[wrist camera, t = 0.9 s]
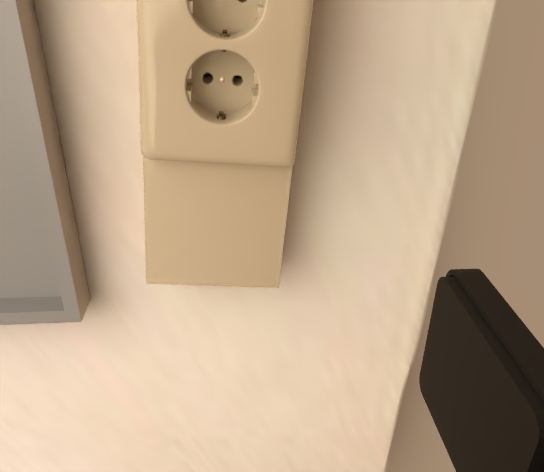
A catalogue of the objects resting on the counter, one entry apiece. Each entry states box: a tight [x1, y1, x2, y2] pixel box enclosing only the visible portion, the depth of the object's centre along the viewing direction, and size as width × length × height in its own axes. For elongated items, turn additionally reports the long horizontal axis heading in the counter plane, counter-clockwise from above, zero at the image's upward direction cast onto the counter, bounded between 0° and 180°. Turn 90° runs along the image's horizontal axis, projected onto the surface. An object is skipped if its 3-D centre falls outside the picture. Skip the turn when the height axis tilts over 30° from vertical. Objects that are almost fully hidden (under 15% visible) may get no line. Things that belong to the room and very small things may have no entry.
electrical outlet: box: [137, 0, 314, 288], centre depth 25 cm, size 7×4×18 cm
